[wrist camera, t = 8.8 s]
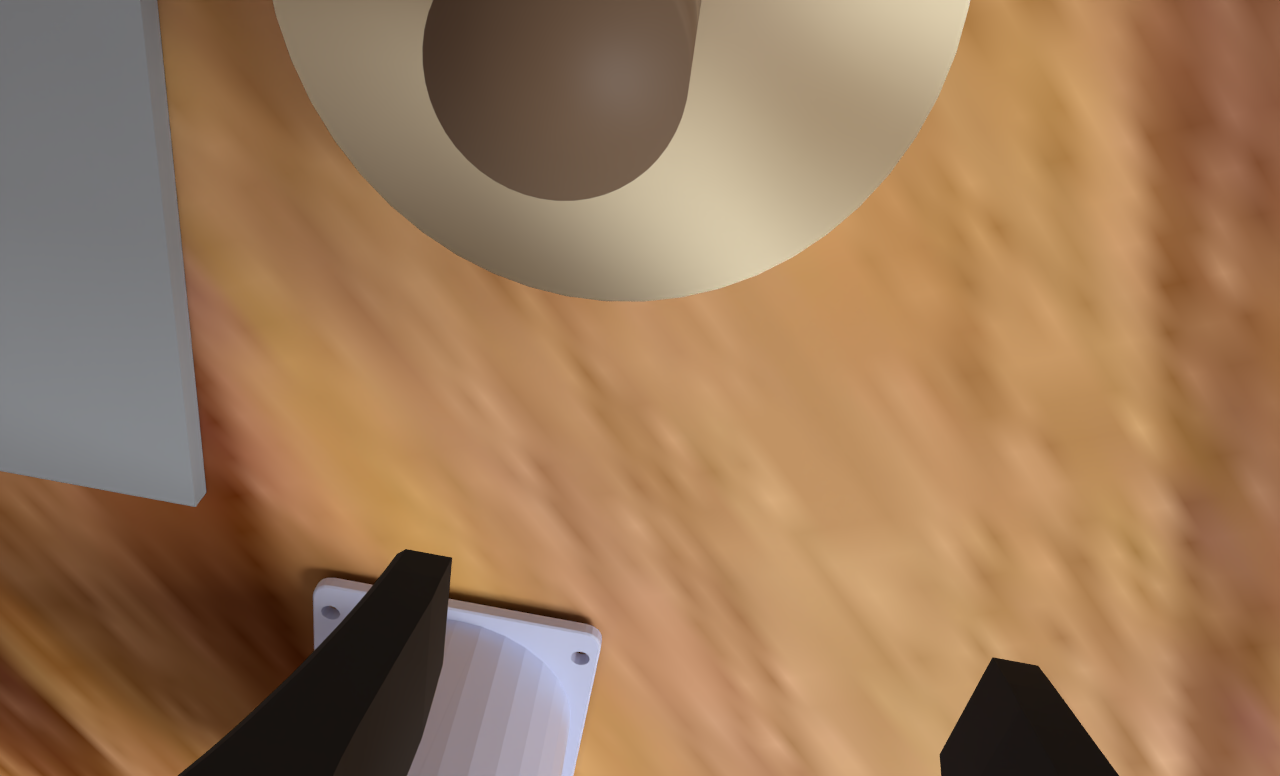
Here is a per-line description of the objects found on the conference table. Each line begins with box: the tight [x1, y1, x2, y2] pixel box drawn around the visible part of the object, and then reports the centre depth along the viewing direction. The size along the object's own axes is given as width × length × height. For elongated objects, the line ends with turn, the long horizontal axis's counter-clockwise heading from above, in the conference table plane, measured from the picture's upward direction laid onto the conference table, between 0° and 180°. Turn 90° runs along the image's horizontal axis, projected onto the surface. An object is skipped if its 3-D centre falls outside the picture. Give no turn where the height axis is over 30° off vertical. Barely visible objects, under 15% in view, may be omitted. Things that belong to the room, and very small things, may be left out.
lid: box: [273, 0, 970, 301], centre depth 12 cm, size 10×10×6 cm
